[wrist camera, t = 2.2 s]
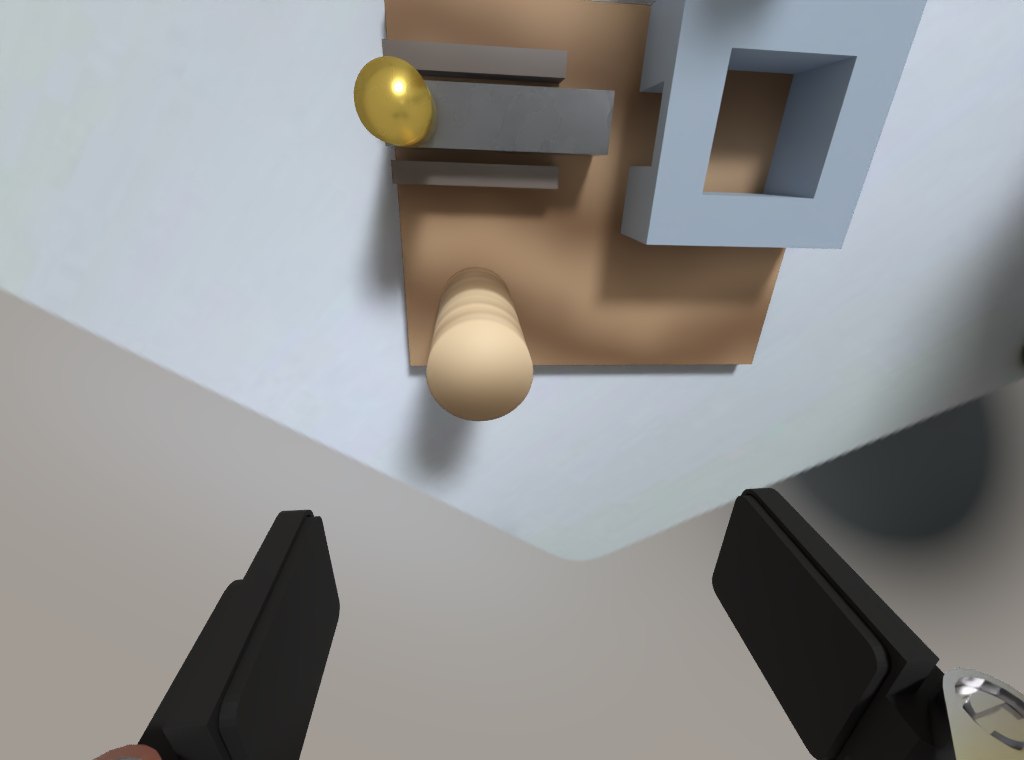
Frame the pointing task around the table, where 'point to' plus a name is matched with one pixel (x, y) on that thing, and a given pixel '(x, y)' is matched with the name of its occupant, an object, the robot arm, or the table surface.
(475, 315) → the peg
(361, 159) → the table surface
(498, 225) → the dock board
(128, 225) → the table surface
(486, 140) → the pin
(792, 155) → the socket block
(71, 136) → the table surface
